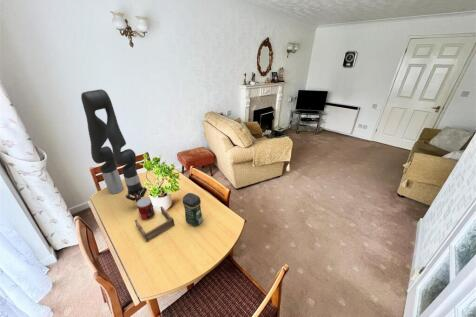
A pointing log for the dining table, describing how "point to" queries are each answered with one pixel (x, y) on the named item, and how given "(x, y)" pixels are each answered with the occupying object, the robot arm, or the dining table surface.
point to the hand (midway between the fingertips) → (139, 203)
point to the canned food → (145, 208)
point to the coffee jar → (192, 209)
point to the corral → (158, 229)
